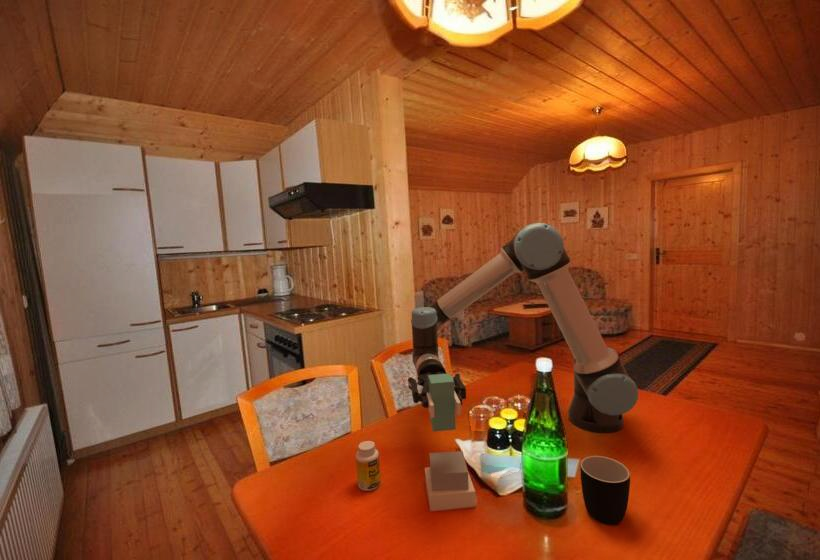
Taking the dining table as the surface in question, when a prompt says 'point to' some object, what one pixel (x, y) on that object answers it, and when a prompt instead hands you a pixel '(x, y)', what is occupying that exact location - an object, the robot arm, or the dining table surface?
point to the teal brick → (442, 402)
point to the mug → (605, 489)
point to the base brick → (449, 496)
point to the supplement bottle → (368, 466)
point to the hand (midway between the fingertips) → (445, 410)
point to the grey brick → (448, 471)
